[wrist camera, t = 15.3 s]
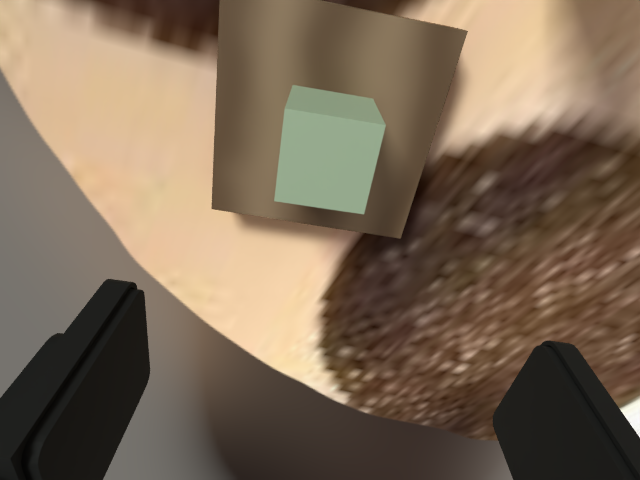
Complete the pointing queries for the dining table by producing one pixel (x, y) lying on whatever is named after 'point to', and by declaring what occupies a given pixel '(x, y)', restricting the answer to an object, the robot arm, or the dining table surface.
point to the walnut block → (331, 75)
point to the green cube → (328, 150)
